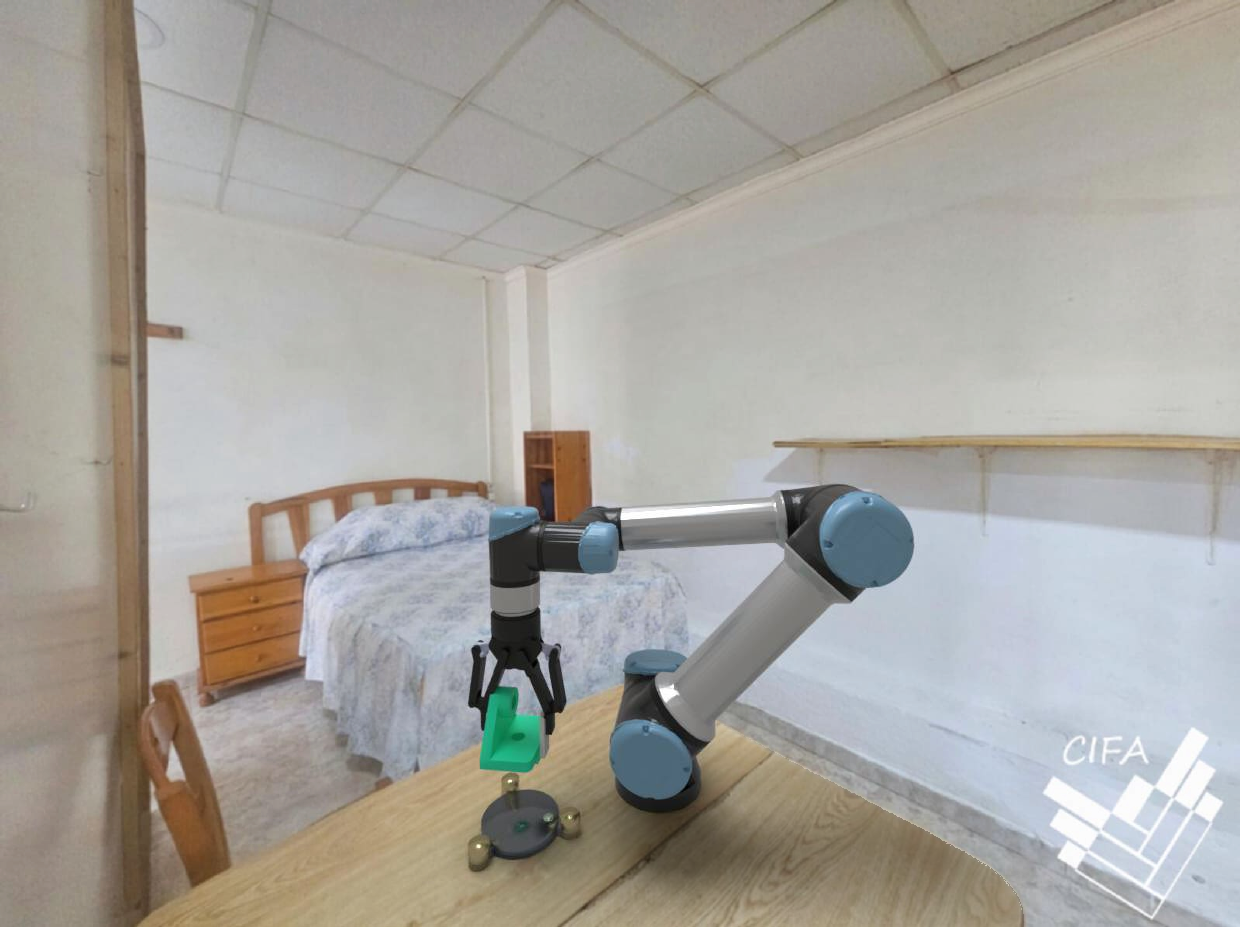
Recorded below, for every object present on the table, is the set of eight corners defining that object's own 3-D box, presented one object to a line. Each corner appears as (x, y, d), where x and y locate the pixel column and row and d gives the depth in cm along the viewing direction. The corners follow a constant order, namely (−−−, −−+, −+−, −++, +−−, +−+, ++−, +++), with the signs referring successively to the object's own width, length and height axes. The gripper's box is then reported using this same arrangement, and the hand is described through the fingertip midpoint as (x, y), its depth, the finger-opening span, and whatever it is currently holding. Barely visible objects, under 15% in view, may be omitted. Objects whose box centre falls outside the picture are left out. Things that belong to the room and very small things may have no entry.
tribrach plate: (589, 794, 89) (589, 778, 89) (568, 880, 72) (568, 859, 72) (502, 788, 91) (501, 771, 90) (461, 869, 74) (461, 850, 74)
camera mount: (530, 780, 74) (529, 711, 74) (479, 776, 75) (478, 708, 75) (552, 731, 86) (551, 672, 85) (508, 728, 87) (506, 669, 86)
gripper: (586, 602, 82) (587, 741, 83) (461, 597, 84) (465, 732, 86) (576, 619, 74) (578, 771, 76) (440, 614, 77) (444, 761, 78)
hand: (518, 750), depth 81 cm, fingers closed on camera mount, 8 cm apart
